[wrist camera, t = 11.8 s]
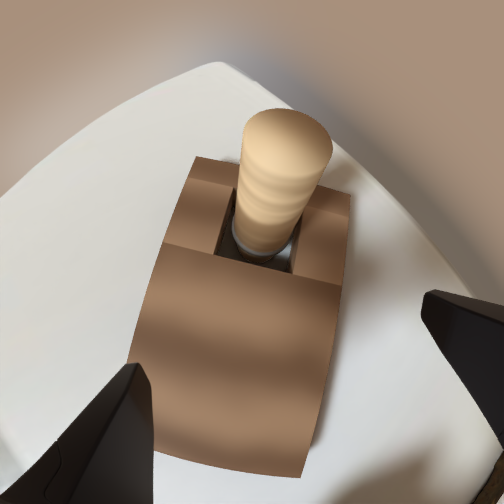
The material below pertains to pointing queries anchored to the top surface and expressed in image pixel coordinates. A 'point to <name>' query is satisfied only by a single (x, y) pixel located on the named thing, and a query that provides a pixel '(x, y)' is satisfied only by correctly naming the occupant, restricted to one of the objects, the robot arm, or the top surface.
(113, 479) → the robot arm
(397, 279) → the top surface
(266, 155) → the oak peg
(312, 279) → the walnut board
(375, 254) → the top surface
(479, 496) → the hand tool
